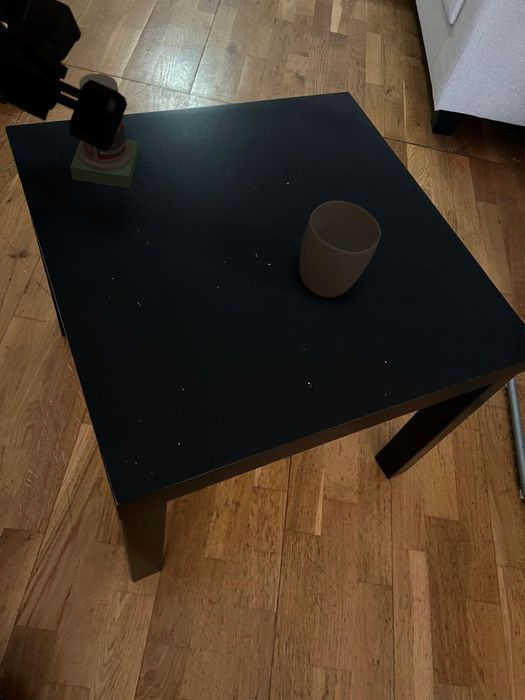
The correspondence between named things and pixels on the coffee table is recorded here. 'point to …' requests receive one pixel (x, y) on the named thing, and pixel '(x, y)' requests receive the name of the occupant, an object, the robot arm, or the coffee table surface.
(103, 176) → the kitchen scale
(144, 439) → the coffee table surface
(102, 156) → the pill bottle
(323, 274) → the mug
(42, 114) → the robot arm
